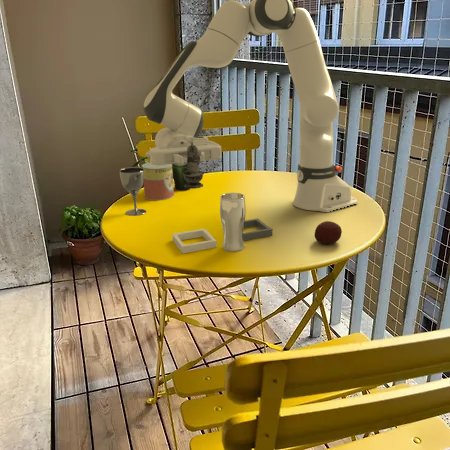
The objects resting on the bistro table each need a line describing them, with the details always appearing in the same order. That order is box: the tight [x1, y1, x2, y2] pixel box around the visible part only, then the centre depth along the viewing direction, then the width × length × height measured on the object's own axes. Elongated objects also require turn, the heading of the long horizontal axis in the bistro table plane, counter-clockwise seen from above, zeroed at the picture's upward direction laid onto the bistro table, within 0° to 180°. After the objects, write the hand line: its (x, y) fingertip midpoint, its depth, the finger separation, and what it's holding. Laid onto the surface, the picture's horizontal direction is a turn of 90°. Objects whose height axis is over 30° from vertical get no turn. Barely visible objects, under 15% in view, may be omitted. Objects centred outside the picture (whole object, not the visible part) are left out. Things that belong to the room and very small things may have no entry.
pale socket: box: [171, 228, 218, 254], centre depth 130 cm, size 10×10×2 cm
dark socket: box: [243, 218, 273, 242], centre depth 136 cm, size 10×10×2 cm
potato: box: [314, 220, 343, 245], centre depth 128 cm, size 7×8×6 cm
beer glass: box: [219, 192, 247, 253], centre depth 124 cm, size 7×7×15 cm
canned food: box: [141, 161, 175, 201], centre depth 171 cm, size 11×11×12 cm
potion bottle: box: [172, 164, 191, 192], centre depth 178 cm, size 8×8×18 cm
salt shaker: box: [182, 143, 205, 190], centre depth 122 cm, size 6×6×12 cm
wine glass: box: [119, 166, 147, 217], centre depth 153 cm, size 8×8×15 cm
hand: (193, 159), depth 121 cm, fingers closed on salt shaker, 3 cm apart
